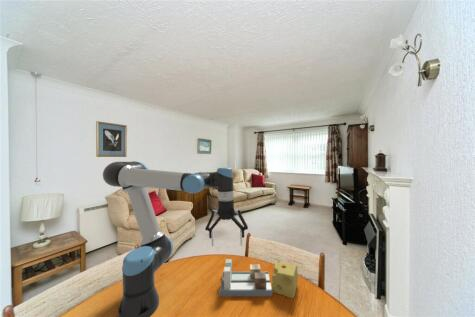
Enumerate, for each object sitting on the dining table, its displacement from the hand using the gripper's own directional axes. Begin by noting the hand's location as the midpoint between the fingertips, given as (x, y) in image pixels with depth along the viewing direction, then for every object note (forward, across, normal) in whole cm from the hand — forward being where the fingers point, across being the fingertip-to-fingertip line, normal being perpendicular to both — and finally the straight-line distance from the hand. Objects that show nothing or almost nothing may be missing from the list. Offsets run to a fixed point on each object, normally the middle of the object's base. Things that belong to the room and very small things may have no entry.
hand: (227, 244), depth 85 cm
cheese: (+22, +27, +1) cm, 35 cm away
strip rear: (+21, +9, +7) cm, 24 cm away
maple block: (+20, +13, +7) cm, 25 cm away
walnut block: (+20, +15, 0) cm, 25 cm away
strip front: (+20, +9, 0) cm, 22 cm away
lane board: (+22, +8, +4) cm, 23 cm away
